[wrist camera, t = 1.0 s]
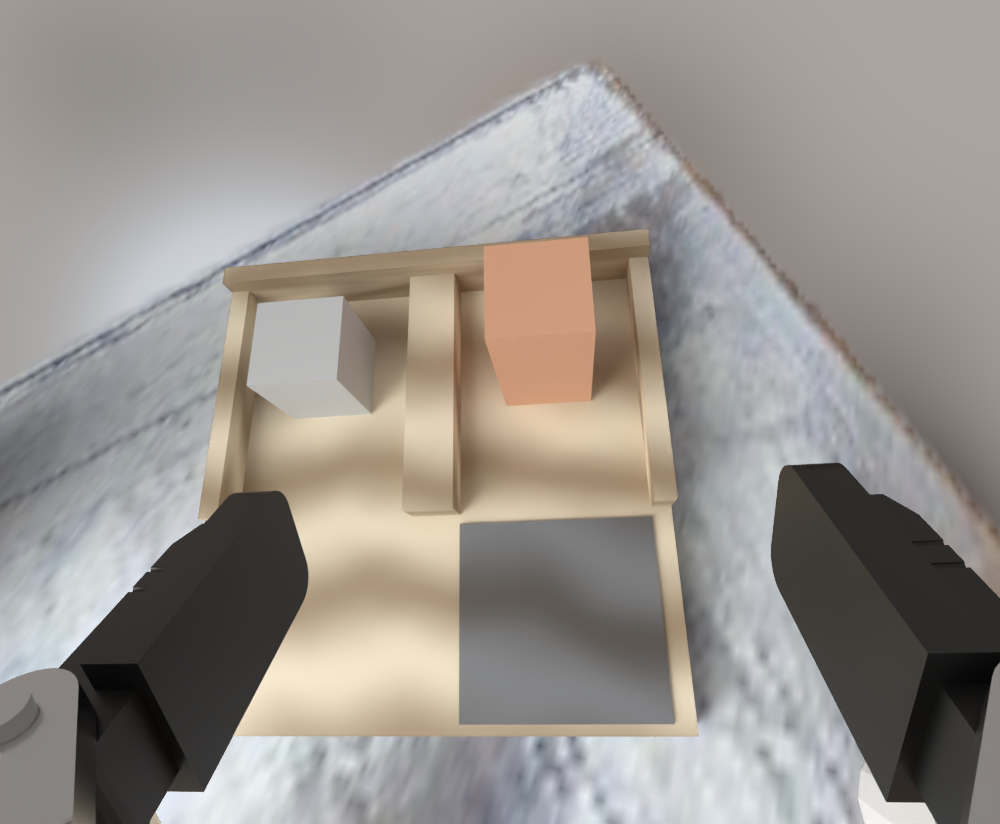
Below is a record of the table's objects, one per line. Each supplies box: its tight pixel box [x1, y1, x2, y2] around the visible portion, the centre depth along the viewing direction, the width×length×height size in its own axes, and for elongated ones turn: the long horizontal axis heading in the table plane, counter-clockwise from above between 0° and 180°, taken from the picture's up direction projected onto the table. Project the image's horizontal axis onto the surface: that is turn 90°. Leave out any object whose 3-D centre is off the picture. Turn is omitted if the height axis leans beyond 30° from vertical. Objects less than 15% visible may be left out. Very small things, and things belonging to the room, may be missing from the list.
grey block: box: [247, 296, 376, 419], centre depth 31 cm, size 4×4×5 cm
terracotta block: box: [484, 237, 596, 406], centre depth 28 cm, size 4×4×8 cm
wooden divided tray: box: [198, 229, 699, 736], centre depth 30 cm, size 24×24×5 cm
